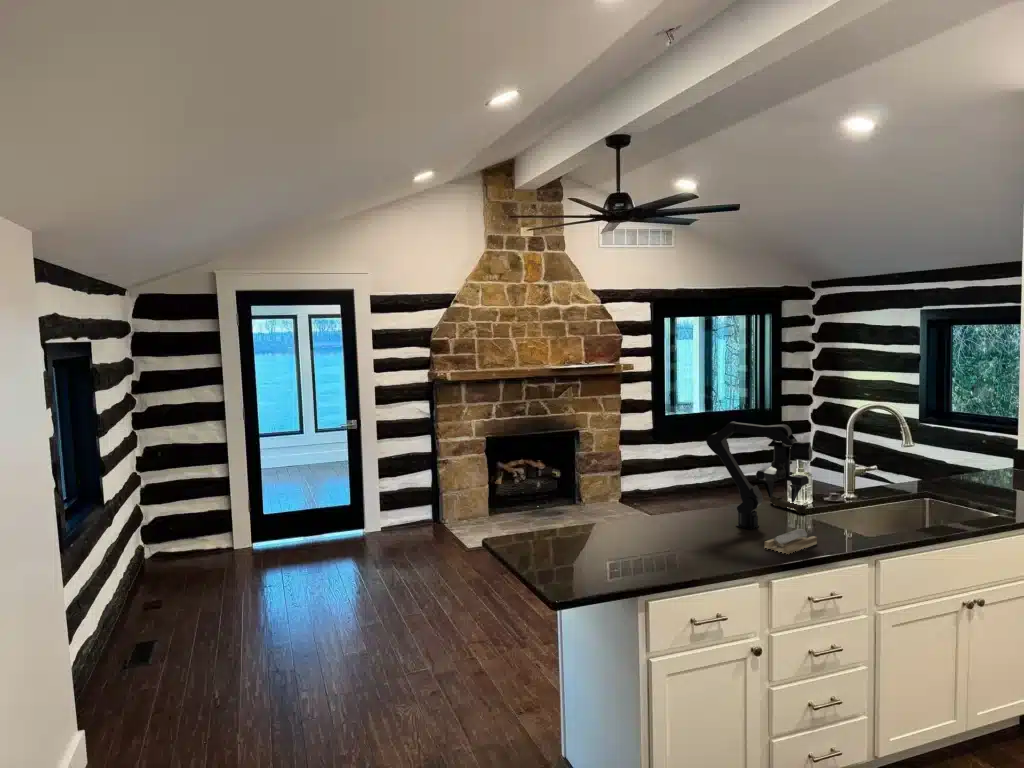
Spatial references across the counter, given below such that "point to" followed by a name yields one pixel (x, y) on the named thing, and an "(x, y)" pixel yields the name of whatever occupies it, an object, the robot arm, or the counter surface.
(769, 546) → the cradle
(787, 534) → the axle
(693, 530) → the counter surface
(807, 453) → the robot arm
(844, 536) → the counter surface
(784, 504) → the hand tool
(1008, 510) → the counter surface
